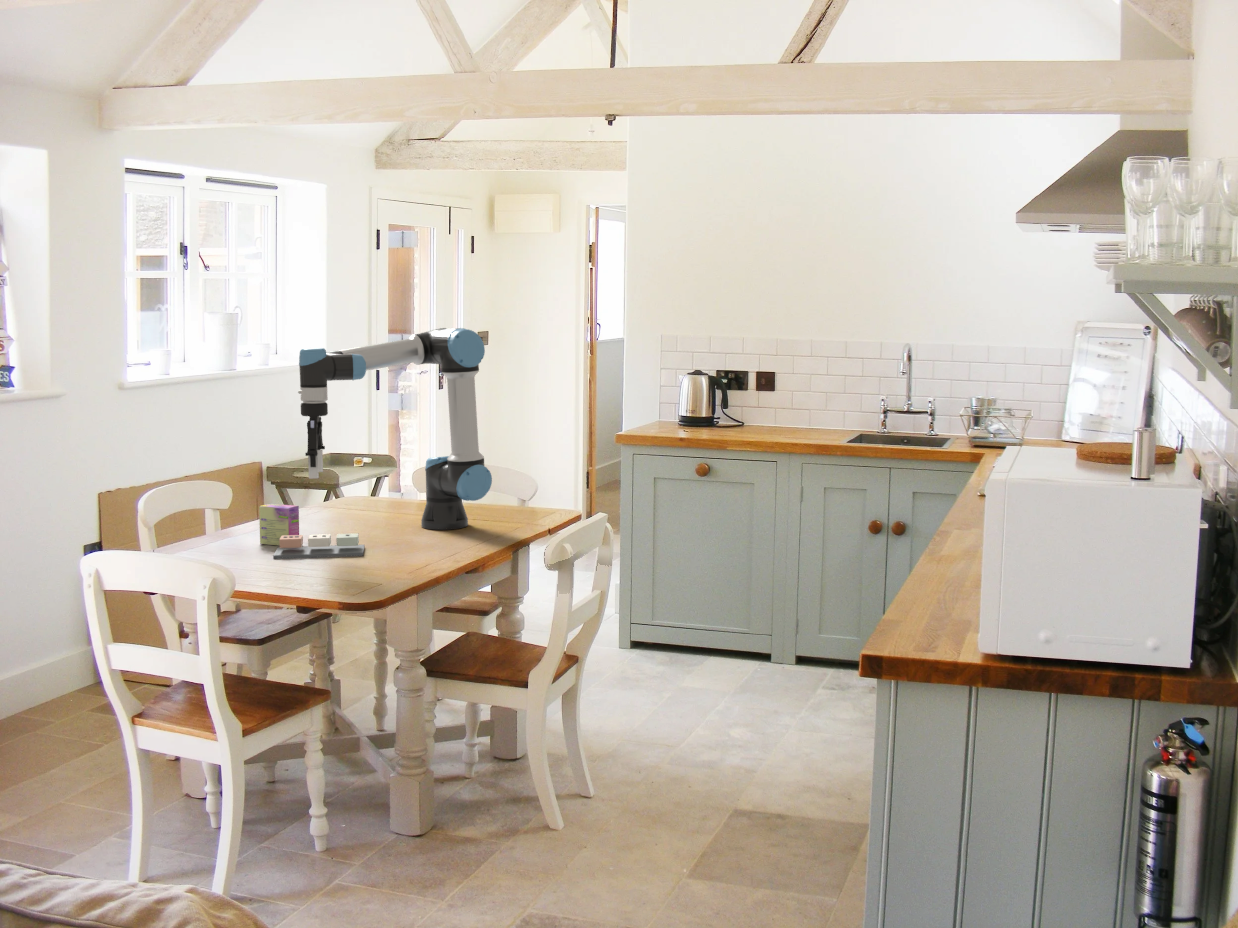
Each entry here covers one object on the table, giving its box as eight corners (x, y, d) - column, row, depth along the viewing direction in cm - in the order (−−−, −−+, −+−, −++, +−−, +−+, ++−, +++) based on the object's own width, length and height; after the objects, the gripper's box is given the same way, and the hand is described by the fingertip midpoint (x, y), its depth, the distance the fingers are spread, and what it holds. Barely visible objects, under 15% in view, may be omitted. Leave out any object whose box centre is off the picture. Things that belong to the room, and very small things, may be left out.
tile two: (331, 542, 352) (330, 533, 352) (329, 546, 346) (329, 537, 346) (310, 543, 351) (309, 534, 351) (308, 547, 345) (308, 537, 345)
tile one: (358, 541, 354) (358, 532, 353) (357, 545, 348) (357, 536, 347) (337, 542, 353) (337, 533, 352) (336, 546, 347) (336, 537, 346)
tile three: (303, 543, 351) (302, 534, 351) (301, 547, 345) (300, 538, 345) (281, 543, 350) (281, 534, 350) (279, 547, 344) (279, 538, 344)
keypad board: (364, 547, 357) (364, 544, 357) (362, 555, 345) (362, 552, 345) (278, 550, 353) (278, 547, 353) (273, 558, 341) (273, 555, 341)
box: (300, 543, 364) (298, 505, 362) (289, 546, 358) (287, 508, 357) (271, 541, 367) (269, 503, 365) (259, 544, 362) (258, 506, 360)
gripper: (305, 398, 356) (307, 469, 358) (295, 405, 331) (298, 481, 334) (330, 398, 357) (332, 469, 359) (323, 405, 332) (325, 480, 335)
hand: (316, 475), depth 347 cm, fingers open, 13 cm apart
